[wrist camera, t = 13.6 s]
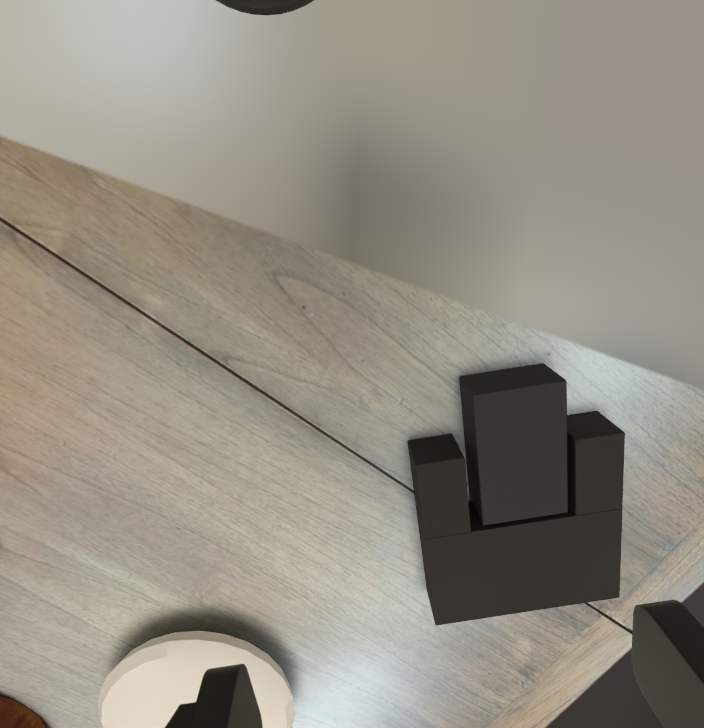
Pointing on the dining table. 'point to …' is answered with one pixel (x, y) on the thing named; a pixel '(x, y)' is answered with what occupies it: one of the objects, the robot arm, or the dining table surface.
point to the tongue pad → (516, 442)
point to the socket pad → (521, 531)
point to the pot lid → (188, 680)
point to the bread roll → (17, 715)
